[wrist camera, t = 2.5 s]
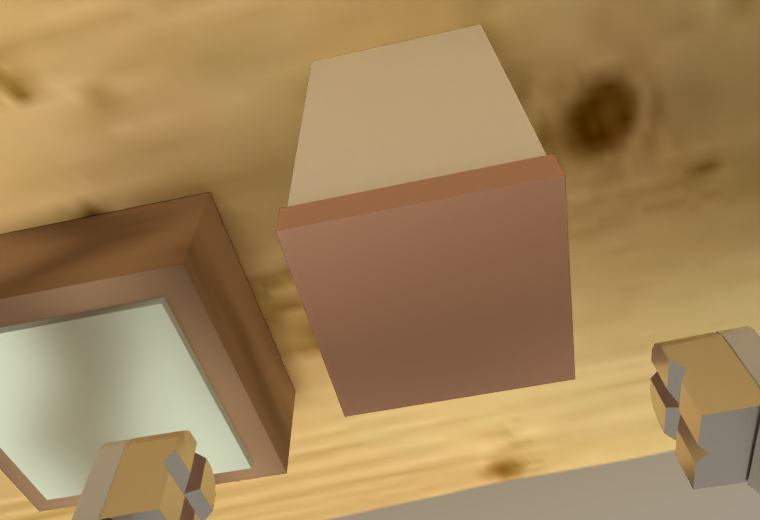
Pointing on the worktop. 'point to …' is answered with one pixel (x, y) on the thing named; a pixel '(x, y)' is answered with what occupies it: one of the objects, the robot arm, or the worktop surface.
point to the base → (134, 348)
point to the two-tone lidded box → (427, 227)
